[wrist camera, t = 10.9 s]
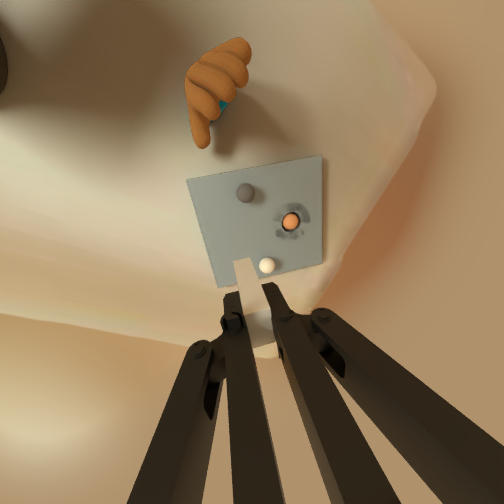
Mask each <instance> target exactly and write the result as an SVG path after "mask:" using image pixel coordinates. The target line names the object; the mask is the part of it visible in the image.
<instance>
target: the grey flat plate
mask: <svg viewBox="0 0 504 504" xmlns="http://www.w3.org/2000/svg"><path fill="white" fill-rule="evenodd" d="M186 182H187V185H188V189H189V192H190V195H191V199H192V202H193V206H194V209H195V212H196V216H197V219H198V222H199V226H200V229H201V233H202V236H203V239H204V243H205V246H206V250H207V253H208V256H209V260H210V263H211V267H212V270H213V273H214V277H215V280H216V284H217V287H218V288H222V287H226V286H230V285H234V284H237V279H236V274H235V269H234V264H233V261H235V260H240V259H244V258H248V257H250V259H251V261H252V264H253V266H254V269H255V271H256V274H257V276H258V279H259V278H263V277H268V276H272V275H276V274H280V273H284V272H288V271H293V270H297V269H301V268H305V267H309V266H314V265H318V264H322V155H320V156H314V157H308V158H303V159H297V160H292V161H286V162H281V163H275V164H270V165H264V166H259V167H253V168H247V169H242V170H236V171H231V172H225V173H220V174H214V175H209V176H203V177H198V178H192V179H187V180H186ZM243 183H248V184H250V185H252V186H253V188H254V190H255V197H254V199H253V200H252V201H251V202H249V203H243V202H241V201H239V200H238V198H237V196H236V190H237V188H238V186H239V185H241V184H243ZM290 212H295V213H296V215H297V218H298V225H297V226H296V227H295V228H294V229H287V230H285V229H283V228H282V223H281V222H282V219H283V217H284V216H285V215H286V214H287V213H290ZM263 258H271V259H272V260H273V261H274V263H275V268H274V270H273V271H272V272H271V273H263V272H262V271H261V270H260V268H259V263H260V261H261V260H262V259H263Z"/></svg>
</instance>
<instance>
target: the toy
mask: <svg viewBox="0 0 504 504" xmlns="http://www.w3.org/2000/svg"><path fill="white" fill-rule="evenodd" d="M251 55H252V54H251V48H250V45H249V44H248V42H247V41H245V40H244V39H243V38H240V37H237V38H233V39H231V40H229V41H227V42H225V43H223V44H221V45H219V46H217V47H216V48H214V49H213V50H211V51H209V52H207V53H205V54H204V55H203V56H202V57H201V58H200V59H199V60H198V61H197V62H195V63H194V64H193V65H192V66H191V67H190V68H189V70H188V71H187V74H186V77H185V96H186V99H187V103H188V111H189V119H190V125H191V130H192V135H193V138H194V141H195V143H196V145H197V147H198V148H200V149H204V148H206V147H207V146H208V145H209V144H210V140H211V137H210V131H209V124H210V122H211V121H213V120H217V119H218V118H219V116H220V114H221V112H222V111H223V110H224V108H225V107H226V106H227V102H231V101H232V100H233V99H234V97H235V95H236V87H238V88H243V87H245V86H246V84H247V82H248V78H249V74H248V70H247V68H246V65H248V64H249V62H250V59H251Z"/></svg>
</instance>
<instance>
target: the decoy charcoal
mask: <svg viewBox="0 0 504 504" xmlns="http://www.w3.org/2000/svg"><path fill="white" fill-rule="evenodd" d="M236 196H237V198H238V200H239V201H241V202H243V203H249V202H251V201H252V200H253V199H254V197H255V190H254V188H253V186H252V185H250V184H248V183H243V184H241V185H239V186H238V188H237V190H236Z"/></svg>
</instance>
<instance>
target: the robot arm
mask: <svg viewBox="0 0 504 504" xmlns="http://www.w3.org/2000/svg"><path fill="white" fill-rule="evenodd" d="M6 78H7V61H6V56H5V51H4V48H3V45H2V42H1V40H0V93H1V91H2V90H3V88H4V85H5V82H6ZM233 264H234V269H235V274H236V279H237V284H238V289H239V291H236V292H232V293H228V294H226V295H225V297H224V299H223V303H224V315H223V316H222V318H221V320H220V323H221V326H222V329H223V333H222V334H221V335H220V336H219V337H218V338H216V339H215V340H213V341H211V342H209V341H207V340H200V341H197V342H195V343H194V344H192V345H191V346H190V347H189V349H188V351H187V353H186V355H185V358H184V360H183V363H182V366H181V368H180V370H179V373H178V376H177V378H176V380H175V383H174V385H173V388H172V390H171V393H170V396H169V398H168V401H167V403H166V406H165V408H164V411H163V413H162V416H161V418H160V421H159V423H158V426H157V428H156V431H155V433H154V436H153V438H152V441H151V443H150V446H149V448H148V451H147V453H146V456H145V459H144V461H143V464H142V466H141V469H140V471H139V474H138V476H137V479H136V481H135V484H134V486H133V489H132V491H131V494H130V496H129V499H128V501H127V504H202V498H203V492H204V486H205V481H206V476H207V470H208V464H209V459H210V453H211V447H212V441H213V436H214V431H215V425H216V420H217V414H218V408H219V402H220V397H221V391H222V385H223V380H224V379H225V378H226V381H227V397H228V415H229V434H230V451H231V468H232V484H233V502H234V504H286V503H285V498H284V493H283V489H282V485H281V480H280V475H279V470H278V466H277V461H276V456H275V452H274V447H273V442H272V437H271V433H270V428H269V423H268V419H267V414H266V409H265V405H264V400H263V395H262V391H261V386H260V381H259V377H258V372H257V367H256V363H255V358H254V354H253V349H252V348H256V347H259V346H263V345H266V344H270V343H273V342H275V340H276V342H277V347H278V353H279V358H281V360H282V363H283V366H284V369H285V372H286V375H287V377H288V380H289V383H290V386H291V389H292V392H293V394H294V398H295V400H296V403H297V406H298V409H299V412H300V415H301V418H302V421H303V423H304V427H305V429H306V432H307V435H308V438H309V441H310V444H311V447H312V450H313V452H314V455H315V458H316V461H317V464H318V467H319V470H320V472H321V476H322V478H323V481H324V484H325V487H326V490H327V493H328V496H329V499H330V501H331V504H401V502H400V501H399V499H398V497H397V496H396V494H395V492H394V490H393V488H392V486H391V484H390V483H389V481H388V479H387V477H386V475H385V474H384V472H383V470H382V468H381V466H380V465H379V463H378V461H377V459H376V457H375V456H374V454H373V452H372V450H371V448H370V447H369V445H368V443H367V441H366V440H365V438H364V436H363V434H362V432H361V430H360V429H359V427H358V425H357V423H356V422H355V420H354V418H353V416H352V415H351V412H350V411H349V409H348V407H347V405H346V403H345V402H344V400H343V398H342V396H341V394H340V393H339V391H338V389H337V387H336V385H335V384H334V382H333V380H332V378H331V377H330V375H329V373H328V371H327V369H328V370H329V371H330V372H331V374H332V375H333V376H334V377H335V378H336V379H337V381H338V382H339V383H340V384H341V385H342V386H343V388H344V389H345V390H346V391H347V392H348V393H349V395H350V396H351V397H352V398H353V399H354V400H355V401H356V403H357V404H358V405H359V406H360V407H361V409H362V410H363V411H364V412H365V413H366V414H367V416H368V417H369V418H370V419H371V420H372V421H373V423H374V424H375V425H376V426H377V427H378V428H379V430H380V431H381V432H382V433H383V434H384V435H385V437H386V438H387V439H388V440H389V441H390V442H391V444H392V445H393V446H394V447H395V448H396V449H397V451H398V452H399V453H400V454H401V455H402V456H403V458H404V459H405V460H406V461H407V462H408V463H409V465H410V466H411V467H412V468H413V469H414V470H415V472H416V473H417V474H418V475H419V476H420V477H421V479H422V480H423V481H424V482H425V483H426V484H427V486H428V487H429V488H430V489H431V490H432V491H433V493H434V494H435V495H436V496H437V497H438V498H439V500H440V501H441V502H442V503H443V504H504V446H503V445H501V444H500V443H499V442H497V441H496V440H495V439H494V438H493V437H491V436H490V435H489V434H487V433H486V432H485V431H484V430H482V429H481V428H480V427H479V426H477V425H476V424H475V423H473V422H472V421H471V420H470V419H468V418H467V417H466V416H465V415H463V414H462V413H461V412H460V411H458V410H457V409H456V408H455V407H453V406H452V405H451V404H449V403H448V402H447V401H446V400H444V399H443V398H442V397H441V396H439V395H438V394H437V393H435V392H434V391H433V390H432V389H430V388H429V387H428V386H427V385H425V384H424V383H423V382H422V381H420V380H419V379H418V378H417V377H415V376H414V375H413V374H411V373H410V372H409V371H408V370H406V369H405V368H404V367H403V366H401V365H400V364H399V363H397V362H396V361H395V360H394V359H392V358H391V357H390V356H389V355H387V354H386V353H385V352H384V351H382V350H381V349H380V348H378V347H377V346H376V345H375V344H373V343H372V342H371V341H370V340H368V339H367V338H366V337H365V336H363V335H362V334H361V333H359V332H358V331H357V330H356V329H354V328H353V327H352V326H350V325H349V324H348V323H347V322H346V321H344V320H343V319H342V318H340V317H339V316H338V315H337V314H335V313H334V312H333V311H331V310H329V309H327V308H317V309H315V310H313V311H312V313H311V315H301V314H297V313H295V312H294V311H293V310H291V309H290V308H289V306H288V304H287V303H286V301H285V299H284V297H283V295H282V293H281V291H280V290H279V288H278V286H277V285H276V284H275V283H273V282H270V283H266V284H262V285H261V284H260V281H259V279H258V276H257V274H256V271H255V269H254V266H253V264H252V261H251V259H250V257H248V258H244V259H240V260H235V261H233ZM324 365H325V366H324ZM325 367H326V368H327V369H326V368H325Z"/></svg>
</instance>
